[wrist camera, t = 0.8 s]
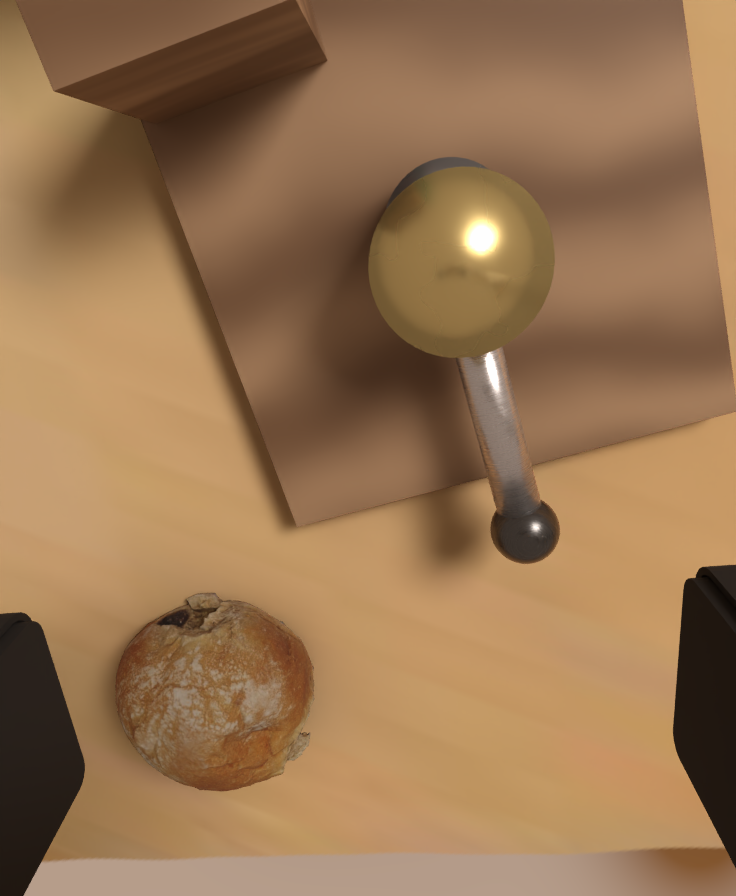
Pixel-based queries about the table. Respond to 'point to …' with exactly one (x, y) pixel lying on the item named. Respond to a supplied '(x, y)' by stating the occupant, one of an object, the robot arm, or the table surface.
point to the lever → (473, 313)
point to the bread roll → (216, 694)
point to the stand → (368, 192)
